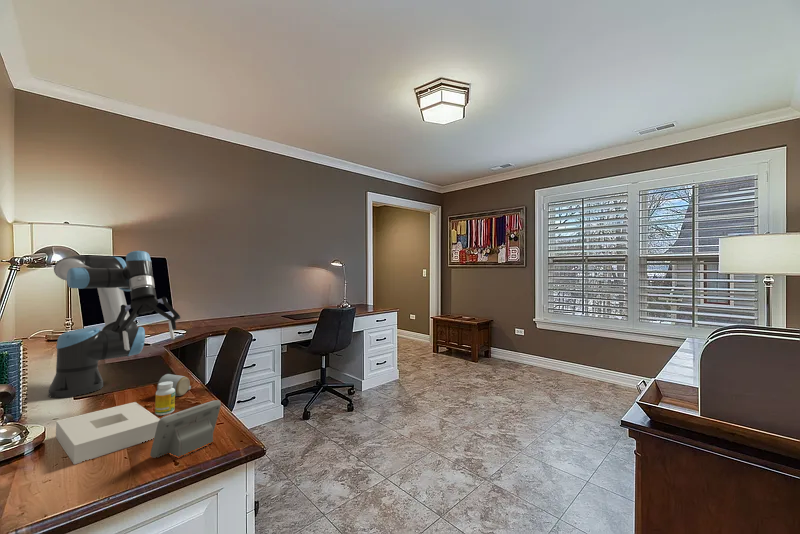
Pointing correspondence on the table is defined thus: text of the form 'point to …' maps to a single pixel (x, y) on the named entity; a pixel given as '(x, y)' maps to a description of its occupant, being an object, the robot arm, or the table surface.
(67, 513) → the table surface
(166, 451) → the digital clock
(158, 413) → the supplement bottle
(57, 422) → the holder block
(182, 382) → the ceramic mug
